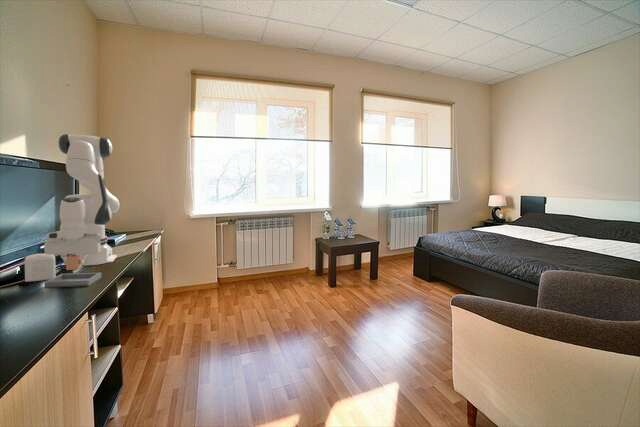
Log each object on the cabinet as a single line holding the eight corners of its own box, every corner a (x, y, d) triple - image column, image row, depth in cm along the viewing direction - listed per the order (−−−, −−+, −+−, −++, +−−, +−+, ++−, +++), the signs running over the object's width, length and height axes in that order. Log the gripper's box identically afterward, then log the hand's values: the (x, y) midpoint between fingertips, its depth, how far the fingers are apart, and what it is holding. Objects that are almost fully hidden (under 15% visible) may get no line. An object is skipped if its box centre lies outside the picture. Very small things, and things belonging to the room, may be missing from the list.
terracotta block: (71, 267, 130) (71, 254, 130) (81, 267, 131) (81, 254, 131) (66, 269, 126) (66, 256, 126) (77, 269, 127) (76, 256, 127)
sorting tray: (61, 279, 133) (61, 273, 133) (101, 277, 138) (101, 272, 137) (44, 287, 122) (44, 282, 122) (88, 285, 126) (88, 280, 126)
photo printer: (56, 277, 136) (55, 251, 135) (54, 279, 132) (53, 253, 131) (26, 280, 130) (25, 253, 129) (23, 282, 126) (22, 255, 125)
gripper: (103, 232, 134) (104, 261, 135) (50, 232, 128) (51, 262, 129) (97, 234, 128) (97, 264, 129) (41, 234, 122) (42, 266, 123)
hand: (74, 263), depth 129 cm, fingers closed on terracotta block, 4 cm apart
